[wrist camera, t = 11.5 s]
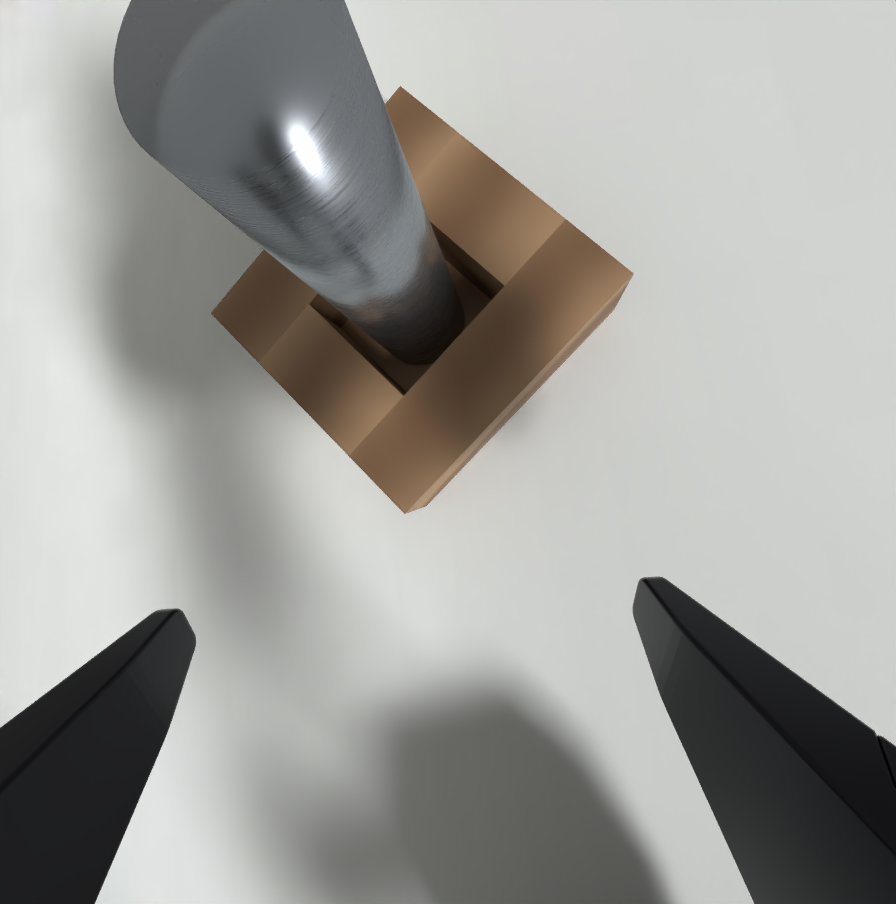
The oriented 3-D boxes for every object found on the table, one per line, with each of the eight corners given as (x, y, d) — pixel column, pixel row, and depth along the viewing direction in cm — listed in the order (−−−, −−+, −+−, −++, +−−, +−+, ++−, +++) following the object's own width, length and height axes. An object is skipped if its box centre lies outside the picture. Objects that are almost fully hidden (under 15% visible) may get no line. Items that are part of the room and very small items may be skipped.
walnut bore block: (613, 310, 18) (633, 273, 15) (425, 505, 19) (404, 513, 16) (421, 151, 20) (400, 86, 17) (261, 338, 21) (210, 313, 18)
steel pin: (475, 289, 19) (376, -73, 6) (450, 374, 19) (302, 195, 6) (393, 270, 20) (150, -89, 7) (369, 353, 20) (87, 153, 7)
